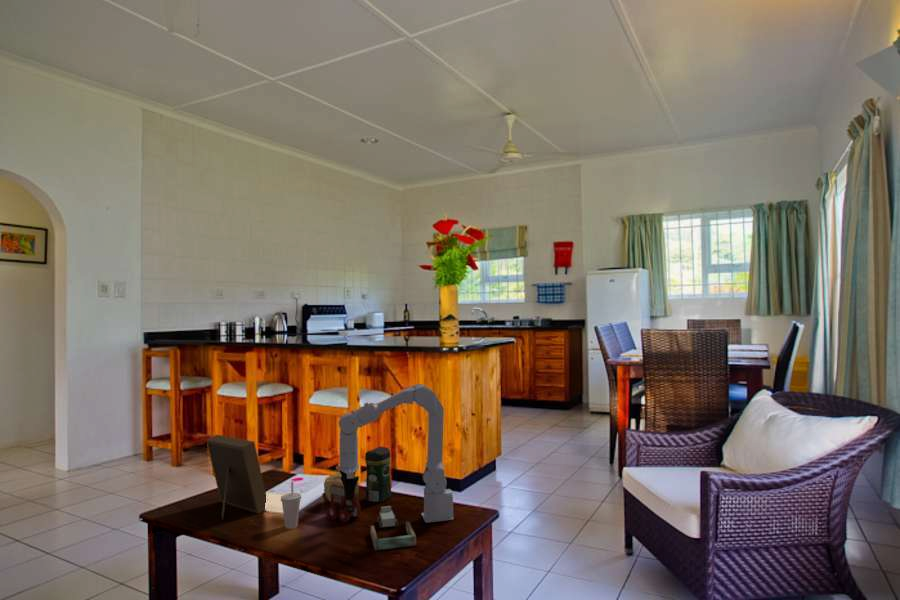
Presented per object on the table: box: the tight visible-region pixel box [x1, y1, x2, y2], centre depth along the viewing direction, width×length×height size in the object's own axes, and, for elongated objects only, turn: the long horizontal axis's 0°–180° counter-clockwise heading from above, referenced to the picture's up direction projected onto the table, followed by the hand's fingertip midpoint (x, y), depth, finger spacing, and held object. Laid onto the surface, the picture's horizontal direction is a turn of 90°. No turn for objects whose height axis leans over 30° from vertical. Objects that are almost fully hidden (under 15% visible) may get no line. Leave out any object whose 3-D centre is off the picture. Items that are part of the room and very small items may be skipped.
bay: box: [370, 521, 417, 551], centre depth 159 cm, size 12×12×2 cm
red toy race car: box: [326, 484, 362, 523], centre depth 177 cm, size 7×12×10 cm, turn 59°
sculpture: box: [323, 472, 360, 503], centre depth 192 cm, size 11×12×11 cm
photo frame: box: [205, 434, 267, 520], centre depth 185 cm, size 15×22×25 cm
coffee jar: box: [364, 446, 392, 504], centre depth 195 cm, size 10×8×19 cm
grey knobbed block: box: [377, 505, 398, 529], centre depth 171 cm, size 6×7×4 cm
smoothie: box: [280, 481, 302, 530], centre depth 170 cm, size 6×6×14 cm
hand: (349, 495), depth 169 cm, fingers open, 7 cm apart
